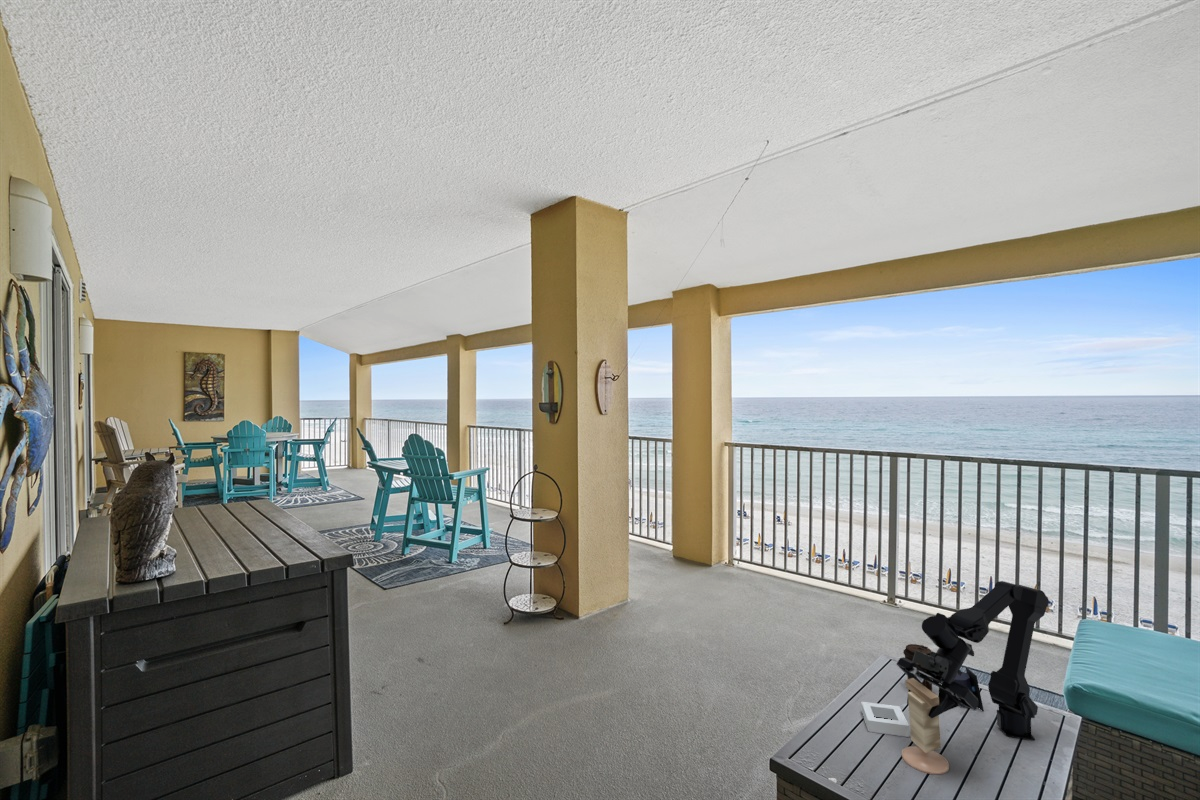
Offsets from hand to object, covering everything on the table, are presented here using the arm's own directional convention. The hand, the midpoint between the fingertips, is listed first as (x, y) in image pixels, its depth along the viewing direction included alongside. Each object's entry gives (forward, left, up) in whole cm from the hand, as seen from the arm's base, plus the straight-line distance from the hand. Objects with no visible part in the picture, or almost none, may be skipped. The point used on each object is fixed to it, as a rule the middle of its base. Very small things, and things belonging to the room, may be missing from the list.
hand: (919, 710), depth 132 cm
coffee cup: (-10, -39, -13) cm, 42 cm away
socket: (+5, -16, -12) cm, 21 cm away
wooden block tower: (-2, -2, -9) cm, 9 cm away
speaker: (-20, -33, -13) cm, 40 cm away
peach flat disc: (-1, -1, -12) cm, 13 cm away
